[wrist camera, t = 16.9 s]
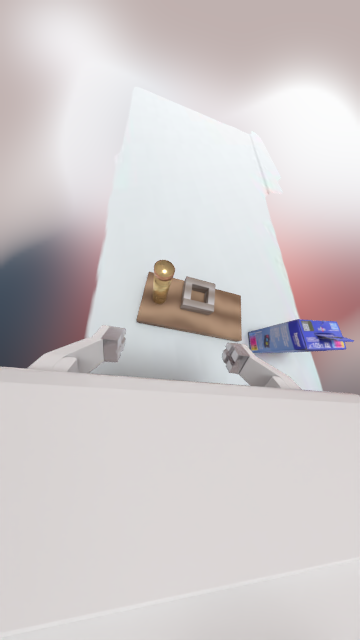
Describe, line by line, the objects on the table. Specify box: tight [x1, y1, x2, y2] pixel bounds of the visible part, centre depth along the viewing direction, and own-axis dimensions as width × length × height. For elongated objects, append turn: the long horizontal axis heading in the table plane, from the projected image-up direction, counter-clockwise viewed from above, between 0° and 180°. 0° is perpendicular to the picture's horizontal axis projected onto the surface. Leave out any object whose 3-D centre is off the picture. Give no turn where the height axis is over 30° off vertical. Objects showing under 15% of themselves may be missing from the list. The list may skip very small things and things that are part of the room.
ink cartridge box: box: [249, 319, 354, 353], centre depth 27 cm, size 10×6×14 cm, turn 92°
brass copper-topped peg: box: [152, 260, 175, 304], centre depth 24 cm, size 3×3×10 cm
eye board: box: [137, 272, 242, 341], centre depth 30 cm, size 12×24×4 cm, turn 82°
